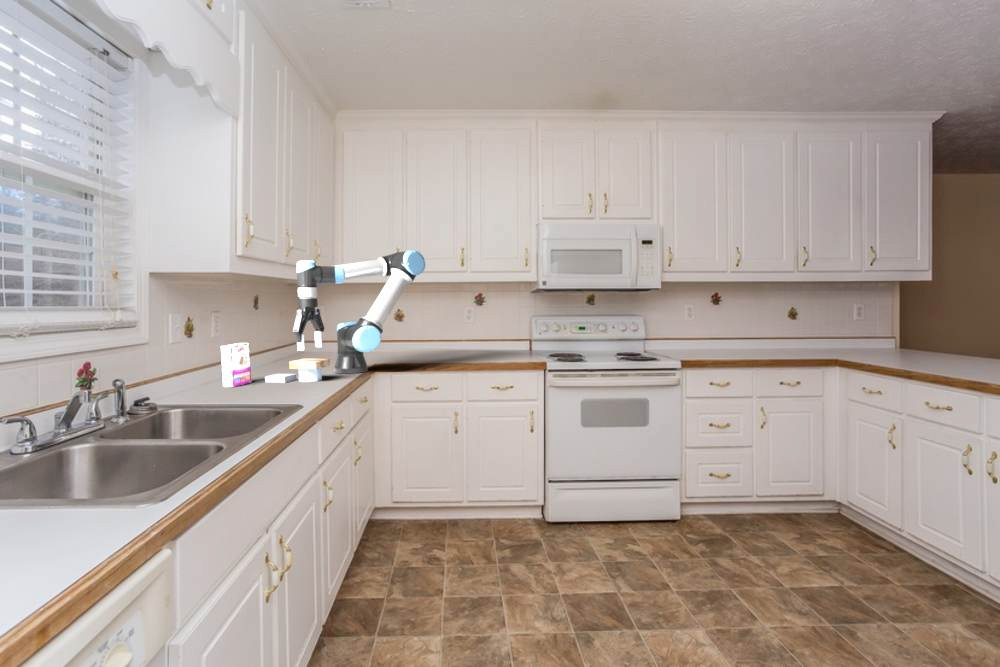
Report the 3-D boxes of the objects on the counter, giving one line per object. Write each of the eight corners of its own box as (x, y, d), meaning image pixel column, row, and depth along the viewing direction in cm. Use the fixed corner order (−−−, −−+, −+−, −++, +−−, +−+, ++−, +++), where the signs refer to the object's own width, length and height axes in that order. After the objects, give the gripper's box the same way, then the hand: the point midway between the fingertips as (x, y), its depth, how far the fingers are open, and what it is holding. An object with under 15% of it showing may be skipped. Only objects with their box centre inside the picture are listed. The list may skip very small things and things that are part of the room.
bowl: (306, 378, 217) (306, 365, 216) (324, 378, 215) (324, 366, 215) (295, 381, 208) (294, 368, 208) (314, 382, 207) (313, 368, 207)
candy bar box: (240, 382, 207) (239, 342, 206) (251, 382, 206) (250, 343, 205) (221, 387, 196) (219, 345, 195) (233, 387, 195) (231, 345, 194)
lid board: (304, 365, 218) (304, 358, 218) (329, 365, 216) (329, 358, 216) (289, 368, 207) (289, 361, 207) (316, 369, 205) (315, 362, 205)
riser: (277, 379, 215) (276, 373, 214) (296, 379, 213) (296, 374, 213) (265, 382, 207) (264, 376, 207) (285, 382, 205) (284, 376, 205)
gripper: (315, 297, 222) (317, 345, 224) (281, 298, 198) (284, 351, 200) (331, 297, 221) (333, 345, 223) (299, 298, 197) (301, 351, 198)
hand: (310, 348), depth 211 cm, fingers open, 13 cm apart
